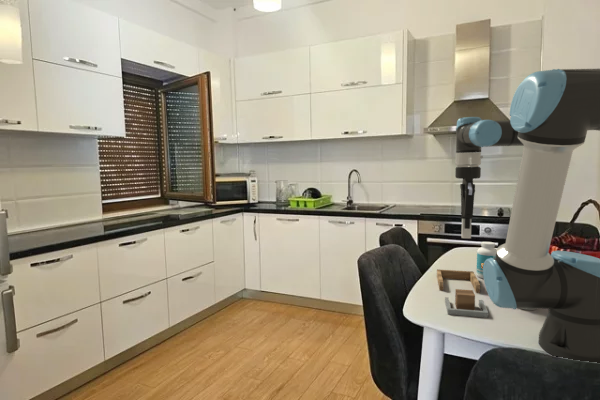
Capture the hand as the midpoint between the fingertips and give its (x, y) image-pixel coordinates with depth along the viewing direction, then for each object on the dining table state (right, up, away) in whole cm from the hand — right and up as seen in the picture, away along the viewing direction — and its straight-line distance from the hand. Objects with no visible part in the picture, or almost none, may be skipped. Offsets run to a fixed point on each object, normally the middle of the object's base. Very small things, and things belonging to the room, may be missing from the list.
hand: (466, 237), depth 128 cm
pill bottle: (+17, -18, +22) cm, 33 cm away
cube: (-4, -21, -8) cm, 23 cm away
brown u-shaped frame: (+3, -18, +14) cm, 23 cm away
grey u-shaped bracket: (-4, -21, -9) cm, 23 cm away
